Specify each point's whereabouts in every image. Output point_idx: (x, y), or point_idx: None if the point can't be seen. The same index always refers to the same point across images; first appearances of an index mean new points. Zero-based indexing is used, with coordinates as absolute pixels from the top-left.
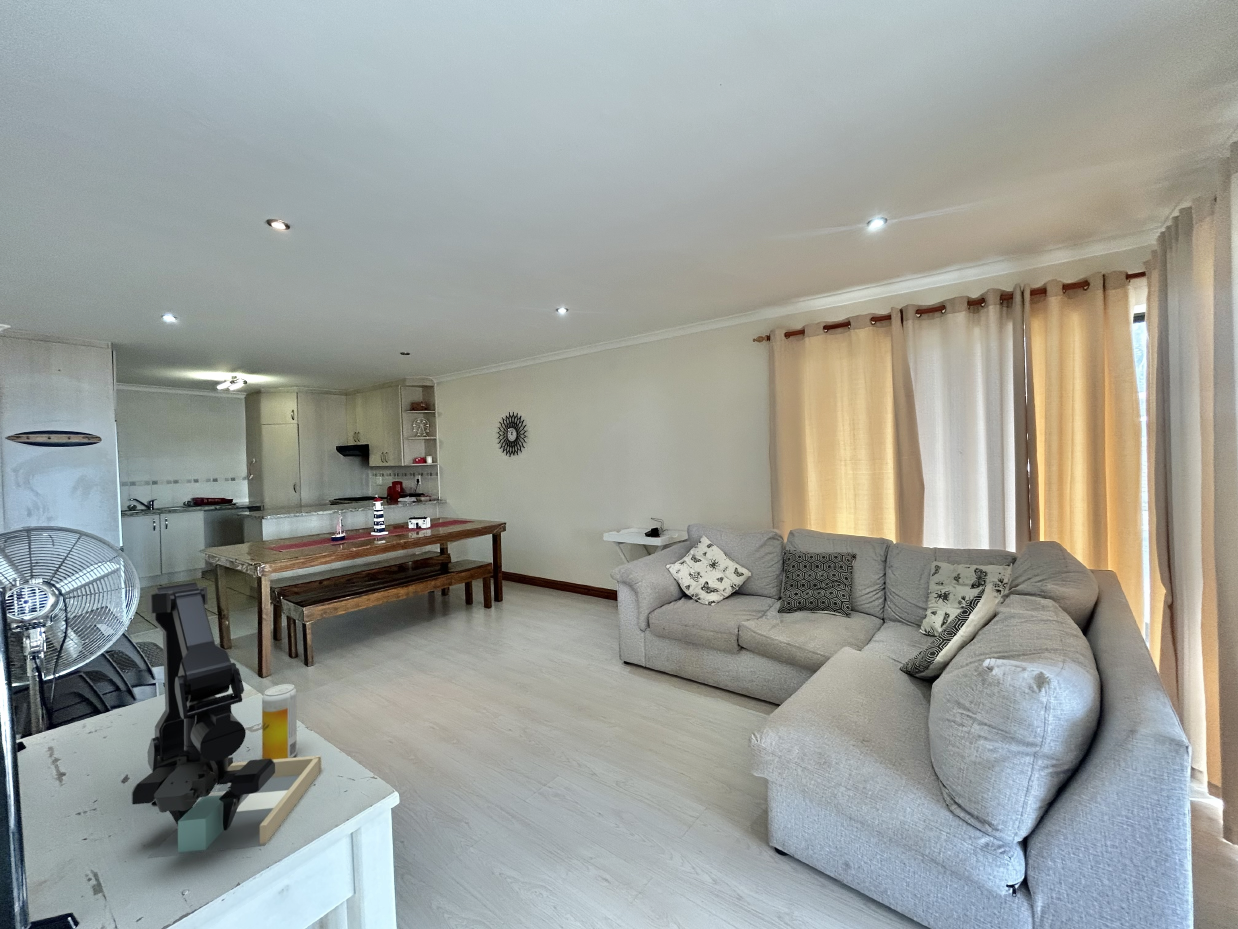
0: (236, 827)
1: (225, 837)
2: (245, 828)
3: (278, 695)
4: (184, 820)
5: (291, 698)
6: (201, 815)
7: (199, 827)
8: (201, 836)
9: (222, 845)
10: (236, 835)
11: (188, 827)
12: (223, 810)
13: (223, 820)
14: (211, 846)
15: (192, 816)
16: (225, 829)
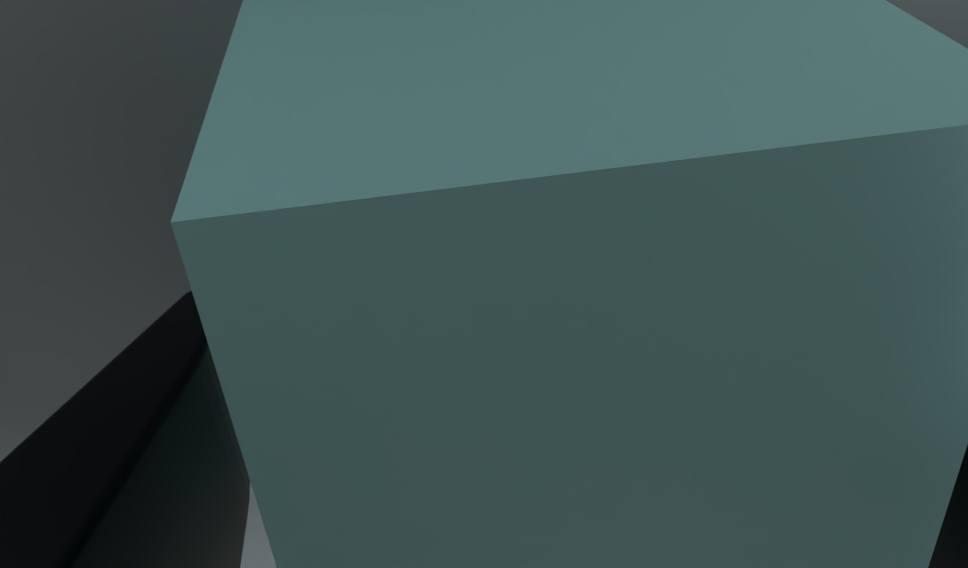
0: None
1: (166, 206)
2: (15, 366)
3: None
4: (877, 147)
5: None
6: (459, 354)
7: (365, 76)
8: (328, 10)
9: (32, 29)
10: (14, 241)
11: (665, 57)
12: (55, 555)
13: (162, 386)
14: (219, 13)
15: (724, 315)
16: (187, 295)
